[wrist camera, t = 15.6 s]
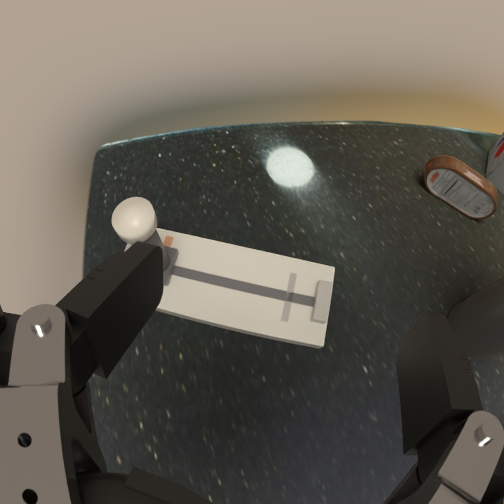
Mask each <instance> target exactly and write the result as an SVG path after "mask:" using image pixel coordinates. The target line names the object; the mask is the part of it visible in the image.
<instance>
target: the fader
mask: <svg viewBox="0 0 504 504" xmlns="http://www.w3.org/2000/svg"><path fill="white" fill-rule="evenodd" d="M112 225H113V227H114V229H115V231H116V232H117V234H118V235H119V237H120V238H121V239H122V240H123V241H125V242H127V243H130V244H131V245H133V244H134V243H135V242H137V241H141V242H145V243H149V244H152V245H156V246H160V247H161V248H162V252H163V285H167V286H168V283H169V280H170V277H171V274H172V271H173V268H174V265H175V262H176V259H177V256H178V253H179V252H178V249H176V248H171V247H167V246H164V245H163V243H162V241H161V238H160V236H159V234H158V232H157V230H156V227H157V217H156V214H155V212H154V209H153V207H152V205H151V203H150V202H149V201H148V200H146V199H144V198H141V197H132V198H129V199H126V200H124V201H123V202H121V203H120V204H119V205H118V206H117V207H116V209H115V210H114V212H113V215H112Z"/></svg>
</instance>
